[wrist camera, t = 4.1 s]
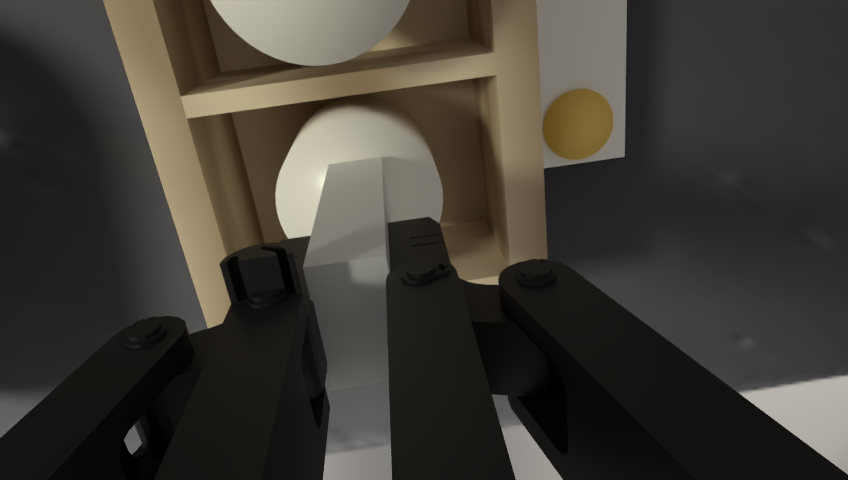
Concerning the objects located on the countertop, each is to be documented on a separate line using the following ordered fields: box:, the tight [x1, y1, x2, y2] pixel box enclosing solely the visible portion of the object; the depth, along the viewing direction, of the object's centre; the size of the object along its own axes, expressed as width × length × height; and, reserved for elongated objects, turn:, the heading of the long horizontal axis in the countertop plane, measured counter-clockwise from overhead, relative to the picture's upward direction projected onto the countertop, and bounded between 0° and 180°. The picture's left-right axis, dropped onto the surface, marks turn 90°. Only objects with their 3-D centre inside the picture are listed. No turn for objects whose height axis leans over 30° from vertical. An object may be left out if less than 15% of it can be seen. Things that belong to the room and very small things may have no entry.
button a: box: [275, 95, 443, 239], centre depth 19 cm, size 5×5×4 cm
